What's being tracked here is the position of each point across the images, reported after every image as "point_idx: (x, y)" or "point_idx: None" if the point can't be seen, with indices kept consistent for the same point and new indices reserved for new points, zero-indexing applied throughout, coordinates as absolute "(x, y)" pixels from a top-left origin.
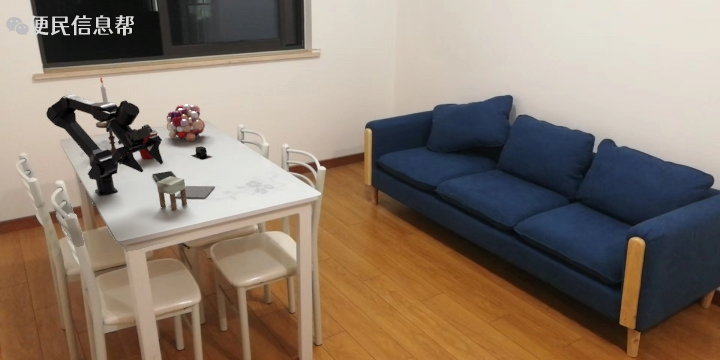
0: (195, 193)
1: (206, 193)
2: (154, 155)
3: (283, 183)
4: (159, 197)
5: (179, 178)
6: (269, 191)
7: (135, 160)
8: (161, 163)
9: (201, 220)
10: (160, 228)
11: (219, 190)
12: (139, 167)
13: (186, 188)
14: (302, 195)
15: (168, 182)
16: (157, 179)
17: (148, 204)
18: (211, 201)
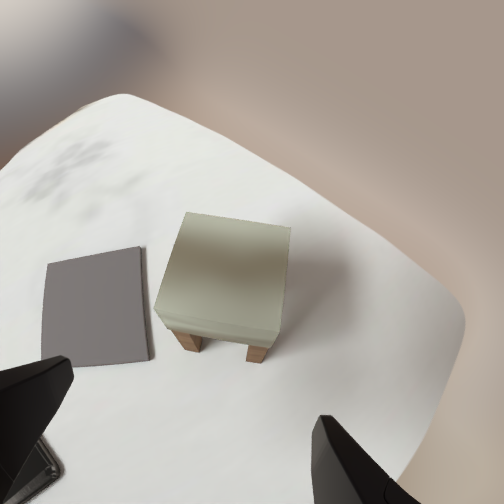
0: (105, 295)
1: (105, 258)
2: (8, 442)
3: (57, 141)
4: (265, 352)
5: (183, 236)
6: (97, 140)
7: (379, 502)
8: (70, 373)
9: (304, 187)
10: (393, 258)
11: (73, 241)
12: (353, 439)
13: (62, 354)
14: (126, 99)
15: (261, 258)
16: (18, 495)
17: (242, 436)
18: (163, 220)
